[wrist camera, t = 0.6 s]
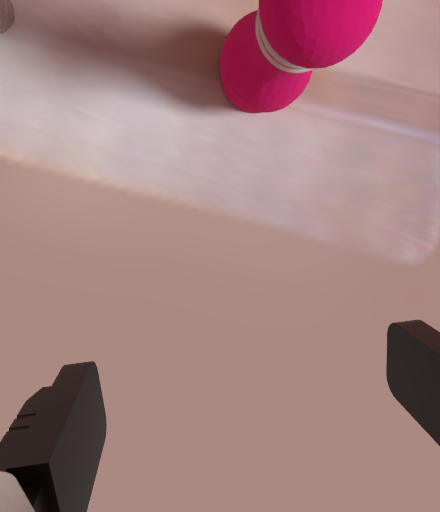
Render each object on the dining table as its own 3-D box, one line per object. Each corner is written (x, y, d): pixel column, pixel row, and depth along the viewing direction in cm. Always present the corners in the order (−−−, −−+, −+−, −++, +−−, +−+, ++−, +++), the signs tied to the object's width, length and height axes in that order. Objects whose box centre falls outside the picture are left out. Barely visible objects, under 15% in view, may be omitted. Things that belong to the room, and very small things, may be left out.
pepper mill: (224, 126, 35) (285, 72, 16) (206, 40, 34) (251, -137, 14) (300, 110, 36) (450, 38, 16) (286, 24, 34) (436, -169, 15)
